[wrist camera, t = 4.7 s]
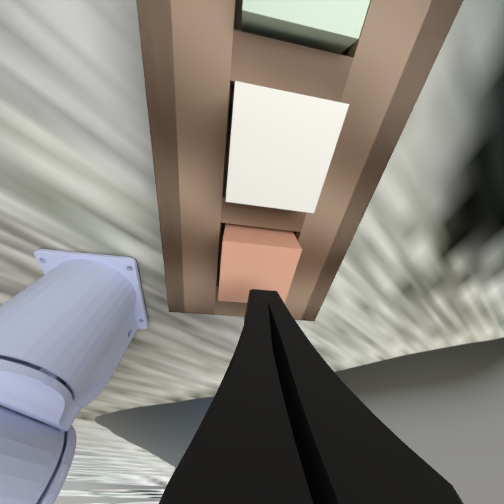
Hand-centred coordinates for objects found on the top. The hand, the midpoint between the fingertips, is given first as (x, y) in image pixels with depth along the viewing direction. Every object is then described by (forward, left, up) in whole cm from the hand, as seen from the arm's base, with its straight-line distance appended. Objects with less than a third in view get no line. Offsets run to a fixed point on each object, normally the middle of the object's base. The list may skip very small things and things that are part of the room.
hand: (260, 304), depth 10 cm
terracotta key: (0, 0, -6) cm, 6 cm away
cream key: (+7, 0, -6) cm, 9 cm away
